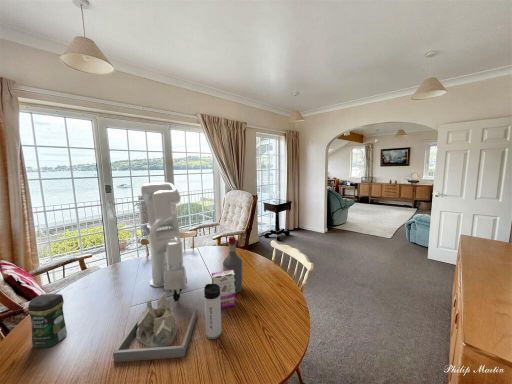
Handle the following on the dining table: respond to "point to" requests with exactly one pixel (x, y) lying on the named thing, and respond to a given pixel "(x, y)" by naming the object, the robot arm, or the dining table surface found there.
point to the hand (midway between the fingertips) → (176, 300)
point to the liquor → (234, 264)
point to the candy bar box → (226, 287)
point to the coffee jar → (47, 320)
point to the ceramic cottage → (157, 324)
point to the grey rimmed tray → (151, 353)
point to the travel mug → (212, 311)
